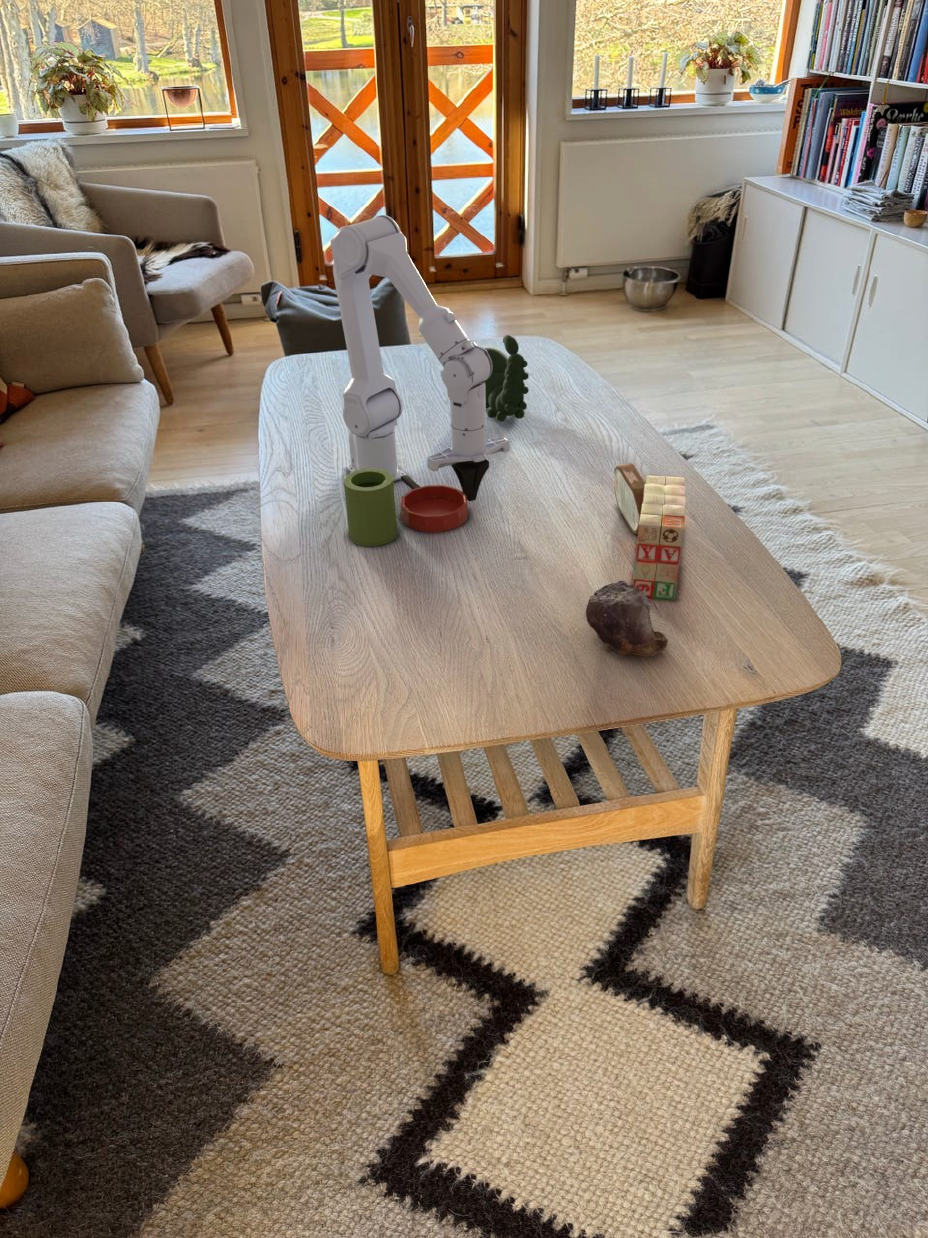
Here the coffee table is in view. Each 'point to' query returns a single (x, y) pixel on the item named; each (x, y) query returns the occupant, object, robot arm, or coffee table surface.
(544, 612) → the coffee table surface
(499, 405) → the toy figurine
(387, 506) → the crock
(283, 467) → the coffee table surface
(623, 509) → the tin
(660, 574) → the stack of blocks
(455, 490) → the pan
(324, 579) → the coffee table surface
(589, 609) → the rock
